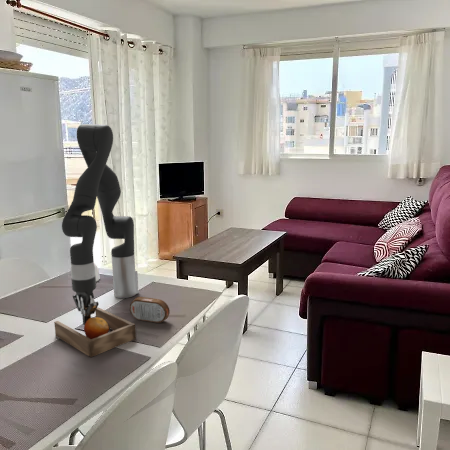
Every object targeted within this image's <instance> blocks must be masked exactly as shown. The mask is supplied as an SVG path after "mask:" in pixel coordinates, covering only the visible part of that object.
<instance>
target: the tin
mask: <svg viewBox="0 0 450 450" xmlns="http://www.w3.org/2000/svg"><path fill="white" fill-rule="evenodd" d="M170 311H171V310H170V307H169V305H168V304H167V303H166V302H165V301H164V300H162V299H160V298H153V297H152V298H151V297H145V296H136V297H135V298H134V299H133V300H132V301H131V302H130V303H129V312H130V314H131V316H132V317H133V318H134V319H135V320H137V321H143V322H150V323H155V324H160V323H163V322H164V321H166V320H167V319H168V318H169V316H170V314H171V313H170Z"/></svg>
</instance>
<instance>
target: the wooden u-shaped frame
mask: <svg viewBox="0 0 450 450" xmlns="http://www.w3.org/2000/svg"><path fill="white" fill-rule="evenodd" d="M95 317H99V318H102V319H104V320H105V321H106V322H107V324H108V326H109V330H110V329H111V330H112V331H109V332H108V333H106V334H104V335H101V336H99V337H96V338H93V339H90V338H88V337H86V335H85V334H82V333H81V332H79V331H77V330H76V329H73V328H72V327H70V326H68V325H66V324H65V323H63V322H61V321H59V320H56V321H54V334H55V337H56V338H58V339H60V340H62V341H64V343H66V344H68V345H70V346H72V347H73V348H75V349H77V350H78V351H79V352H81V353H83V354H84V355H86V356H88V357H90V358H92V357H96V356H98V355H101V354H103V353H105V352H107V351H108V352H109V351H110V350H112V349H115V348H116V347H120V346H122V345H124V344H126V343H129V342H131V341H134V340H136V339H137V334H136V333H137V331H136V324H135V323H133V322H131V321H129V320H127V319H125V318H123V317H121V316H118V315H116V314H114V313H111V312H109V311H107V310H105V309H102V308H100V307H97V309H96V311H95Z"/></svg>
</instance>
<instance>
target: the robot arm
mask: <svg viewBox="0 0 450 450" xmlns="http://www.w3.org/2000/svg"><path fill="white" fill-rule="evenodd" d="M76 141H77V144H78V147H79V150H80V152H81V154H82V157H83V160H84V161H85V164H86V166H87V168H86V169H85V170H84V171H83V173H82V174H81V175H80V177H79V178H78V179H77V182H76V184H75V189H74V193H73V197H72V201H71V204H70V205H69V206H68V209H67V211H66V213H65V215H64V216H63V218H62V222H61V230H62V232H63V235H65V236H66V237H69V238H81V242H79V243H75V244H72V245H71V246H70V247H69V248H70V249H69V257H70V277H71V290H72V291H73V292H75V294H74V295H72V298H73V299H72V300H73V301H74V305H75V306H76V309H77V311H78V312H80V314H81V317H82V325H83V326H85V323H86V321H87V320H88V319H90V318H91V317H92V316H91V315H93V314H96V312H95V311H96V309H97V308H99V302H98V301H95V299H94V298H95V296H94V290H95V289H96V288H97V281H96V276H95V266H94V263H95V262H94V246H95V245H94V243H95V239H96V234H97V230H98V224H97V221H96V219H95V217H93V216H92V215H83V213H85V212H88V211H92V210H93V209H94V208H95V206H96V202H97V201H98V204H99V207H100V211H101V215H102V220H103V225H104V229H105V233H106V235H107V237H108V238H109V239H110V240H111V239H113V240H124V241H123V243H121V244H119V245H116V246H114V247H112V248H111V252H110V253H111V254H110V255H111V267H112V286H113V295H114V297H115V298H119V299H127V298H131V297H134V296H137V294H139V276H138V271H137V270H136V261H135V260H136V258H135V224H134V223H135V222H134V219H133V217H132V216H130V215H128V216H127V215H126V216H123V215H120V216H117V215H116V216H115V215H114V214H113V213H114V212H113V211H114V210H115V206H116V205H117V203H118V201H119V199H120V197H121V194H122V191H121V190H122V189H121V186H120V182H119V178H118V176H117V173H115V171H114V170H113V169H112V168H111V167H109V165H108V164H107V163H108V161H109V160H108V159H109V157H110V154H111V151H112V147H113V142H114V133H113V129H112V128H111V126H109V125H108V124H97V123H83V124H80V125H79V126H77V129H76Z"/></svg>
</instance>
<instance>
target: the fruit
mask: <svg viewBox="0 0 450 450" xmlns="http://www.w3.org/2000/svg"><path fill="white" fill-rule="evenodd" d="M83 332H84V336H86V337H88V338H90V339H93V338H96V337H99V336H101V335H104V334H106V333H109V332H110V328H109V326H108V324H107V322H106V321H105V320H104V319H102V318H99V317H96V316H95V317H92V316H91V318H90V319H88V320H87V321H86V323H85V325H83Z"/></svg>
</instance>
